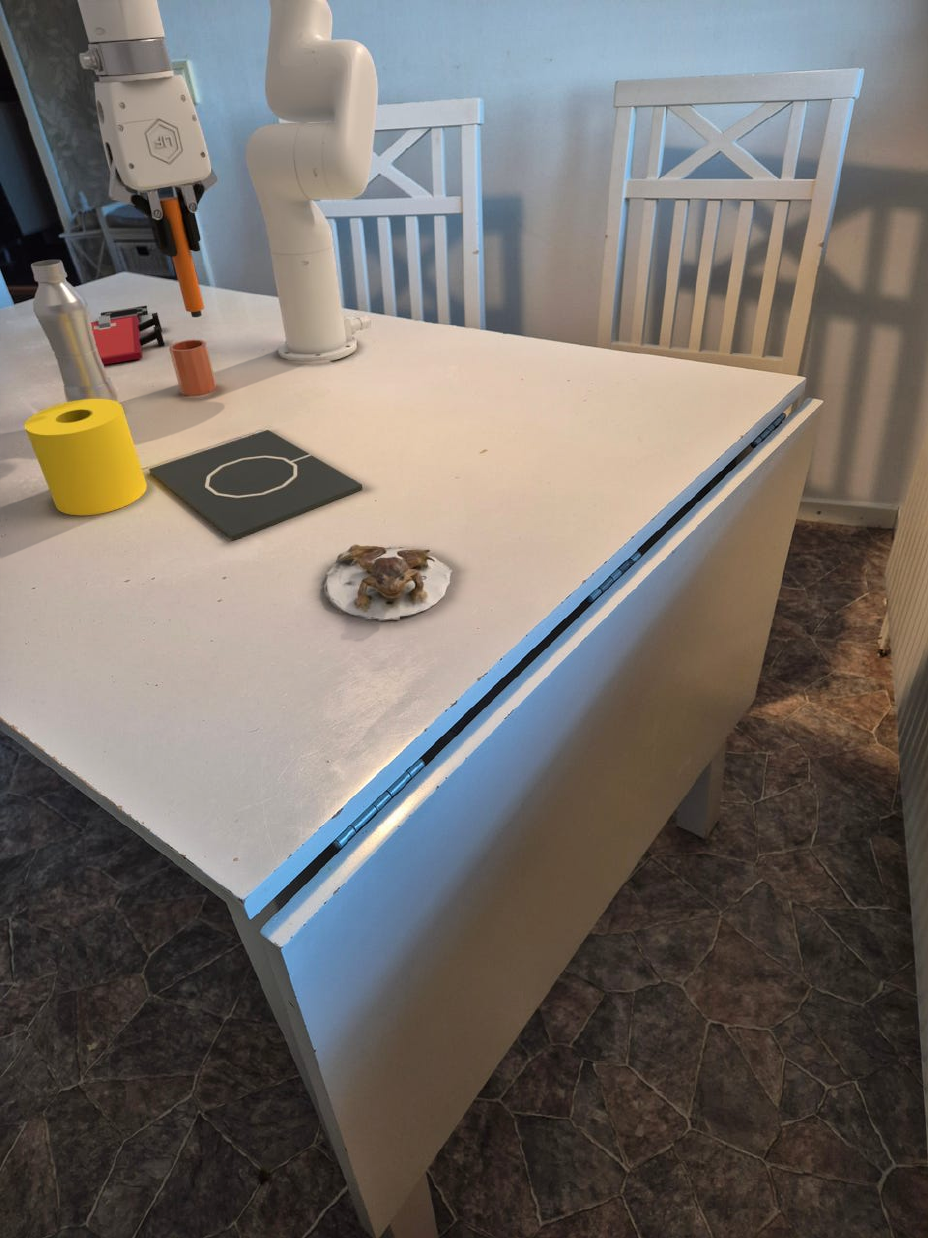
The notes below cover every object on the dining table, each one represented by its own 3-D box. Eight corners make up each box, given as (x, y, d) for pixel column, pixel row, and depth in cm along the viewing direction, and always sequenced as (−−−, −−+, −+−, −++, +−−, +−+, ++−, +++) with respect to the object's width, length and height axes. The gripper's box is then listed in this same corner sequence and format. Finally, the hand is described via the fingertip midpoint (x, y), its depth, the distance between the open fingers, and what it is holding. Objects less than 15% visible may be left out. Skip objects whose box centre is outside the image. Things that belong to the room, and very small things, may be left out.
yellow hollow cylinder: (156, 497, 92) (132, 418, 86) (64, 524, 88) (32, 443, 82) (134, 467, 99) (111, 391, 93) (48, 490, 95) (18, 413, 89)
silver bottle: (106, 424, 110) (54, 269, 98) (62, 423, 112) (6, 269, 100) (131, 406, 115) (85, 256, 103) (89, 405, 117) (38, 257, 105)
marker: (201, 312, 101) (172, 195, 93) (209, 315, 99) (180, 198, 91) (184, 316, 100) (154, 199, 92) (192, 319, 98) (162, 201, 90)
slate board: (268, 433, 105) (267, 428, 104) (362, 489, 91) (362, 483, 90) (150, 473, 97) (148, 468, 97) (232, 540, 83) (231, 535, 82)
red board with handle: (158, 308, 156) (76, 321, 153) (153, 293, 154) (71, 306, 151) (166, 356, 133) (70, 373, 130) (161, 339, 131) (64, 356, 128)
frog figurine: (466, 609, 71) (464, 572, 69) (329, 632, 69) (322, 595, 67) (441, 544, 80) (439, 510, 78) (320, 563, 78) (314, 528, 76)
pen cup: (208, 384, 121) (196, 337, 117) (223, 392, 118) (211, 344, 114) (176, 393, 119) (163, 345, 115) (190, 402, 115) (178, 353, 111)
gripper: (68, 69, 78) (128, 272, 89) (219, 55, 85) (256, 242, 97) (43, 69, 82) (102, 261, 93) (188, 55, 90) (227, 234, 101)
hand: (180, 250), depth 95 cm, fingers closed on marker, 2 cm apart
